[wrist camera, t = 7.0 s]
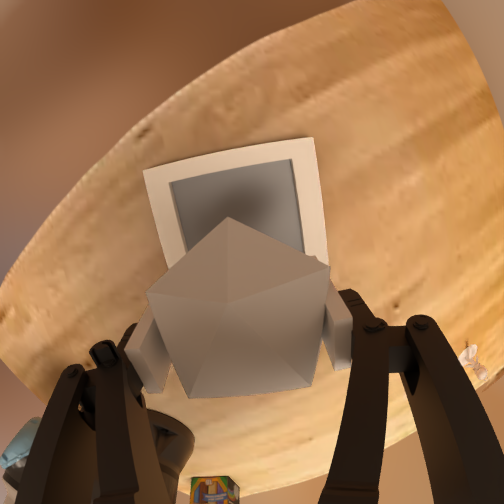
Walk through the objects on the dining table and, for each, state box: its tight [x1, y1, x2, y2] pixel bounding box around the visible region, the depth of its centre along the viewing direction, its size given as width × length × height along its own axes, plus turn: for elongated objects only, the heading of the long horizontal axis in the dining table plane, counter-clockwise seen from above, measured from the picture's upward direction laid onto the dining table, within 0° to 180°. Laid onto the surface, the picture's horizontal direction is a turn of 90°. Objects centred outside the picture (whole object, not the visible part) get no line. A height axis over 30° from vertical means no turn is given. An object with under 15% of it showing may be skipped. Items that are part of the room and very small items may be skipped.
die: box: [145, 217, 330, 398], centre depth 14 cm, size 8×9×10 cm
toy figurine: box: [458, 344, 488, 381], centre depth 34 cm, size 5×8×7 cm, turn 34°
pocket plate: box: [143, 137, 329, 270], centre depth 28 cm, size 16×16×2 cm
